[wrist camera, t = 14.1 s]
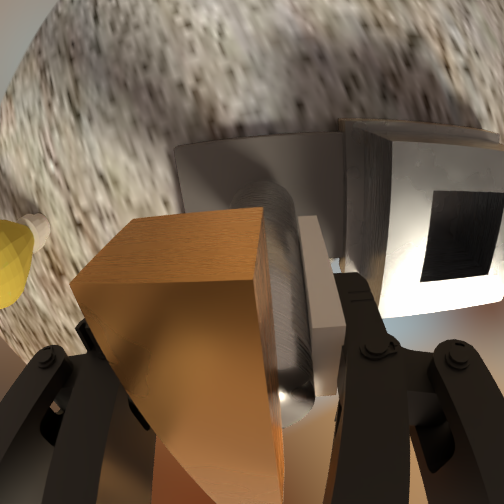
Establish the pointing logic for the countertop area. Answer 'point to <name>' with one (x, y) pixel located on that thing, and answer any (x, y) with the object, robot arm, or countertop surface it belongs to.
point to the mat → (269, 175)
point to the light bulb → (19, 253)
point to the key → (210, 335)
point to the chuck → (423, 213)
